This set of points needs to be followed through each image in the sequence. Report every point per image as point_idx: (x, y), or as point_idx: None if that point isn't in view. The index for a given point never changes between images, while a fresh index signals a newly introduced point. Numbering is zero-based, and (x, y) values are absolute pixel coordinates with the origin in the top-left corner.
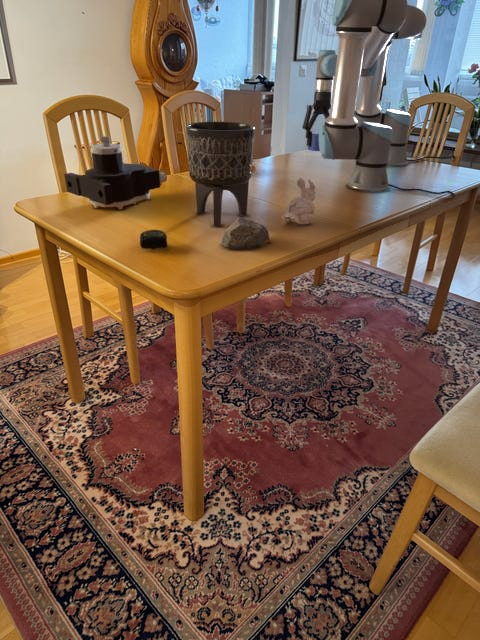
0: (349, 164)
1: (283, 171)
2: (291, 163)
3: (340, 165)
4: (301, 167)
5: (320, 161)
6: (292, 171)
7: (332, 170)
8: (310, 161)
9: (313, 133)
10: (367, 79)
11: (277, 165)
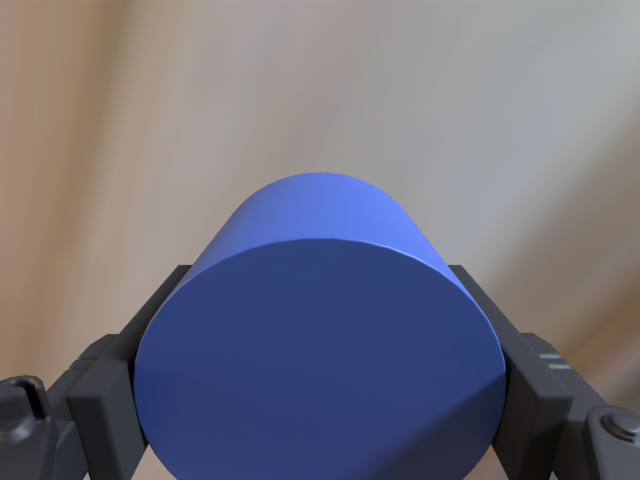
0: (598, 247)
1: (25, 331)
2: (145, 94)
3: (505, 262)
4: (182, 255)
5: (450, 73)
6: (85, 343)
7: None
8: (357, 48)
9: (174, 457)
10: None
11: (4, 145)
